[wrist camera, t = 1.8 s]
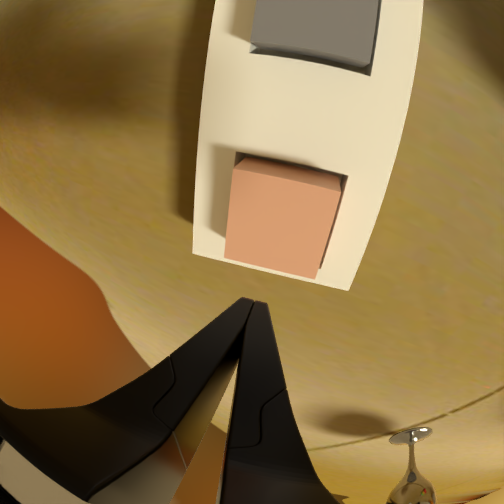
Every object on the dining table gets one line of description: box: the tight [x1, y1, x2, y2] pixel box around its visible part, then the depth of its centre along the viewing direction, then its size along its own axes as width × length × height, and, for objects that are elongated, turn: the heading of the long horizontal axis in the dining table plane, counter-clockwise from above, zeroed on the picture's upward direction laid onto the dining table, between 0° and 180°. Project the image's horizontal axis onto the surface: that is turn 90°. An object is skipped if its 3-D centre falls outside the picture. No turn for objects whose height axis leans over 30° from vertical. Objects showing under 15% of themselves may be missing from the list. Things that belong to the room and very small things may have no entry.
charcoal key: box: [250, 0, 379, 68], centre depth 9 cm, size 5×5×2 cm
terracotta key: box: [224, 157, 341, 279], centre depth 15 cm, size 5×5×2 cm
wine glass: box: [386, 427, 438, 504], centre depth 25 cm, size 8×8×15 cm
